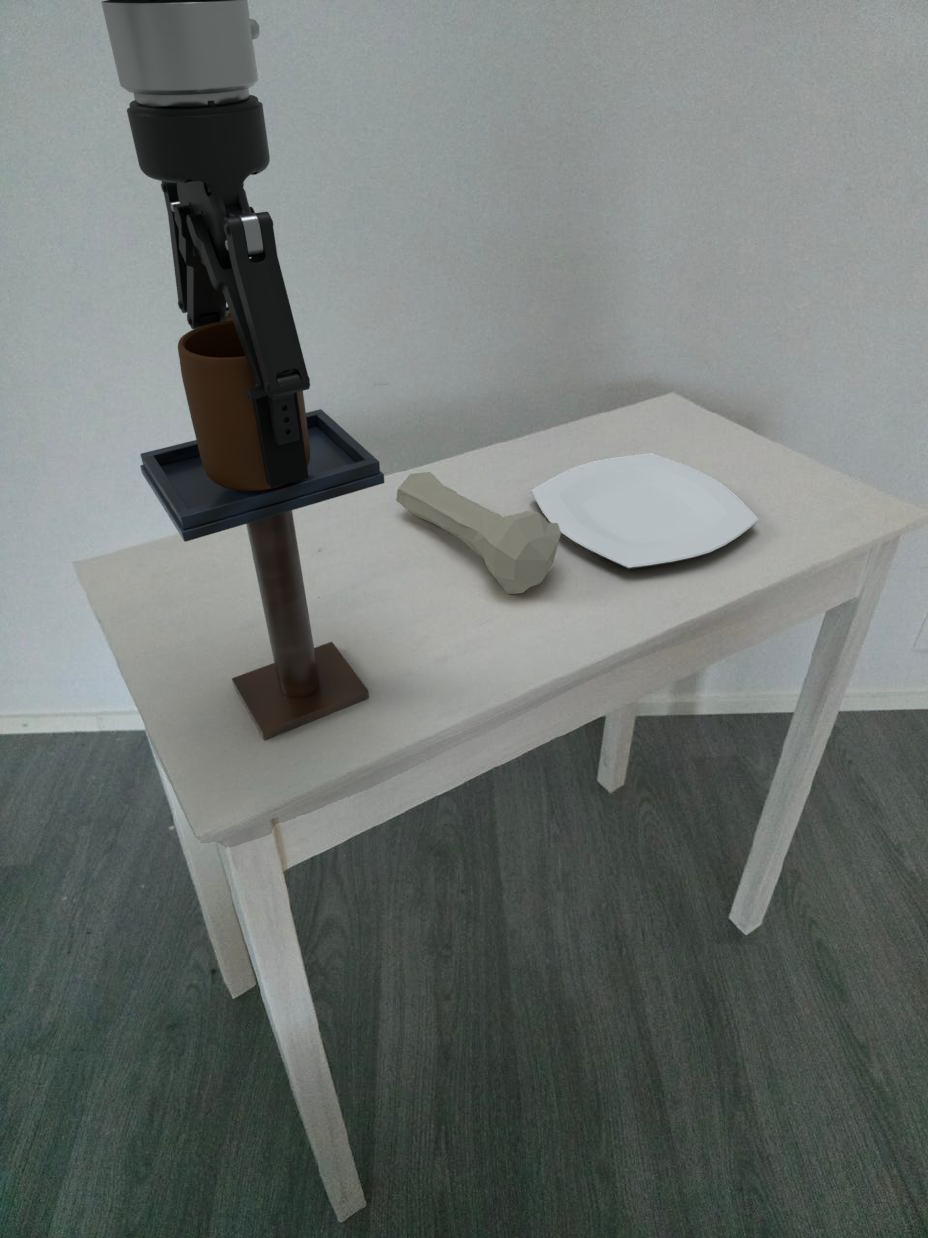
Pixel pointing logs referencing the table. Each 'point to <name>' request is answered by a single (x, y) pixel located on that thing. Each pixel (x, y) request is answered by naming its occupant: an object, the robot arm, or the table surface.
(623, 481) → the plate
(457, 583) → the table surface
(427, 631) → the table surface
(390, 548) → the table surface
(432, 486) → the faceted club
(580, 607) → the table surface
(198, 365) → the mug
